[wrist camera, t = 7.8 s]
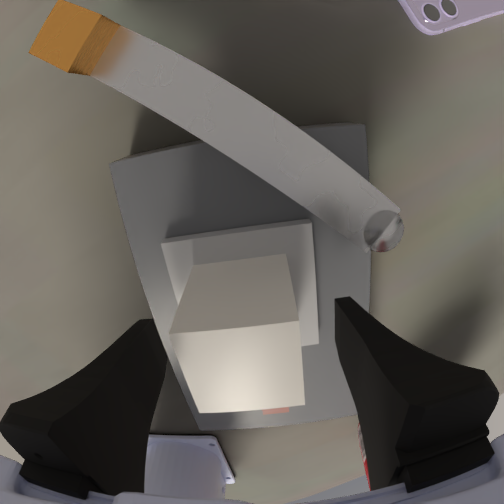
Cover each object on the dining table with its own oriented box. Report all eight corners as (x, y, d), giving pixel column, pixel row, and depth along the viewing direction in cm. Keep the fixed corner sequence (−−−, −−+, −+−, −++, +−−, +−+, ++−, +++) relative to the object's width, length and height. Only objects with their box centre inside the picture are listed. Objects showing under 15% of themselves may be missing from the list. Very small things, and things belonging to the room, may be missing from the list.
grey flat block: (351, 388, 22) (360, 420, 19) (203, 404, 22) (199, 437, 20) (348, 122, 14) (369, 125, 12) (128, 155, 15) (103, 166, 12)
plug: (311, 313, 18) (335, 417, 11) (201, 326, 19) (179, 430, 12) (302, 205, 16) (338, 279, 9) (174, 223, 16) (121, 304, 9)
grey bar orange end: (360, 237, 14) (395, 283, 10) (78, 59, 11) (20, 48, 7) (388, 202, 13) (433, 237, 9) (101, 20, 10) (49, -5, 6)
